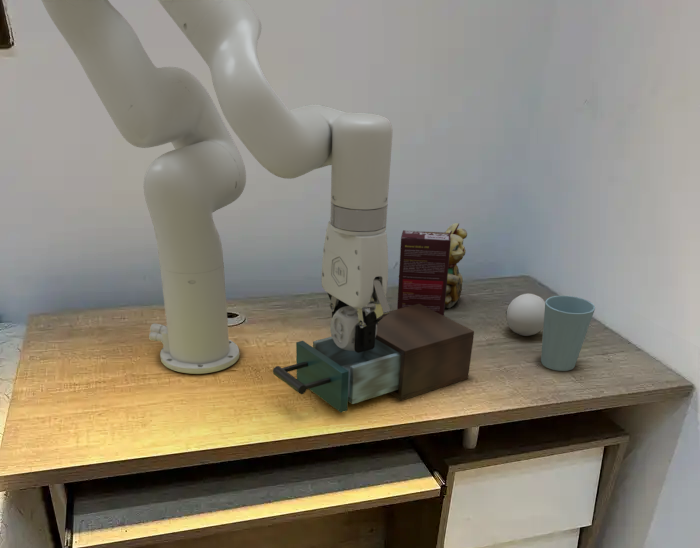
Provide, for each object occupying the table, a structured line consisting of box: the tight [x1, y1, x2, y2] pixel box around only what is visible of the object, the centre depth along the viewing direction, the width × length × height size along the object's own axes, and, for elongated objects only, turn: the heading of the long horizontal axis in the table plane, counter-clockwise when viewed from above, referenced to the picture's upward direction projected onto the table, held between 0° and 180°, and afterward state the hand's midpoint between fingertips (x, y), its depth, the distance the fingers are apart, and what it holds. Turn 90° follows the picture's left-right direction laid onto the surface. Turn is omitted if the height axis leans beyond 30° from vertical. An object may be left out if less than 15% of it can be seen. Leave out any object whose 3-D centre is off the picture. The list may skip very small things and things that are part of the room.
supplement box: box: [396, 229, 451, 316], centre depth 131 cm, size 9×5×16 cm, turn 84°
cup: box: [540, 295, 596, 372], centre depth 119 cm, size 8×8×10 cm
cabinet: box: [375, 304, 475, 401], centre depth 115 cm, size 14×13×8 cm
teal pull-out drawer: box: [272, 336, 401, 413], centre depth 108 cm, size 18×12×6 cm, turn 125°
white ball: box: [501, 293, 545, 337], centre depth 131 cm, size 10×7×7 cm
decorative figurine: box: [443, 222, 468, 309], centre depth 139 cm, size 10×8×15 cm
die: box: [329, 306, 377, 351], centre depth 107 cm, size 5×5×5 cm
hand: (352, 341), depth 108 cm, fingers closed on die, 5 cm apart
